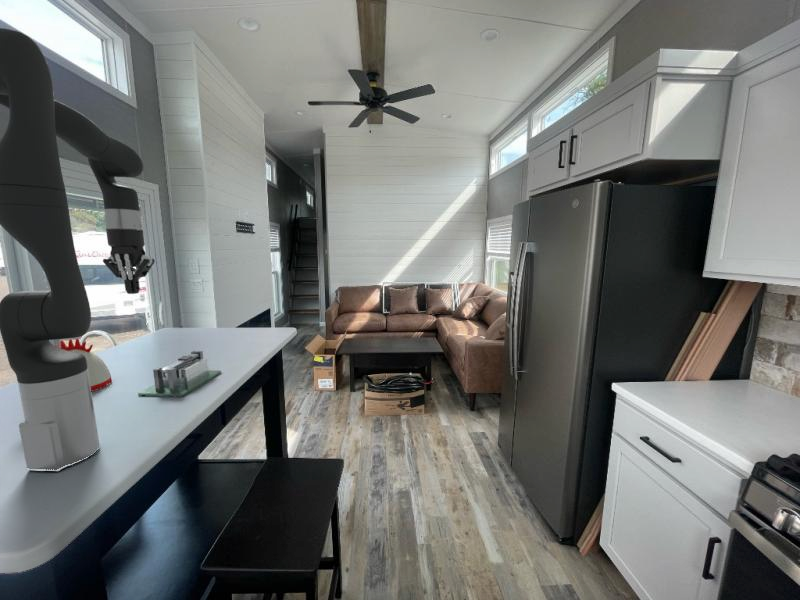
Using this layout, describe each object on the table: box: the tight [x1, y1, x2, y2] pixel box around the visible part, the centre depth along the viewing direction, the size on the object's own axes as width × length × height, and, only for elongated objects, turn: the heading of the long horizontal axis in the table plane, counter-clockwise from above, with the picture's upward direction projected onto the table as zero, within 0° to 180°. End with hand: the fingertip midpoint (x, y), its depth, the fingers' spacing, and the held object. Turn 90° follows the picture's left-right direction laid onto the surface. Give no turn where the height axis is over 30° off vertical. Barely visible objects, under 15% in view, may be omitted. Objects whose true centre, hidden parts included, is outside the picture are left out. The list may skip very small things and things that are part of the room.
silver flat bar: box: [159, 353, 198, 373], centre depth 99 cm, size 13×3×1 cm, turn 177°
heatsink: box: [137, 350, 222, 398], centre depth 100 cm, size 18×13×8 cm
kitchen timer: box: [54, 337, 112, 392], centre depth 97 cm, size 14×14×15 cm
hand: (133, 293), depth 88 cm, fingers closed
